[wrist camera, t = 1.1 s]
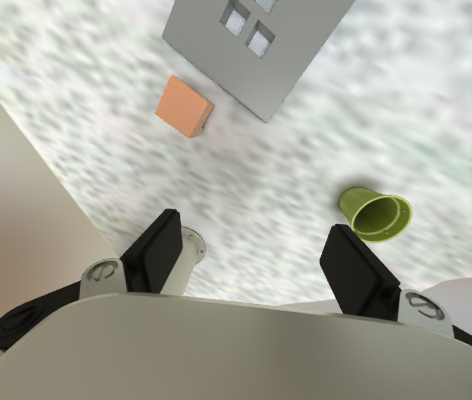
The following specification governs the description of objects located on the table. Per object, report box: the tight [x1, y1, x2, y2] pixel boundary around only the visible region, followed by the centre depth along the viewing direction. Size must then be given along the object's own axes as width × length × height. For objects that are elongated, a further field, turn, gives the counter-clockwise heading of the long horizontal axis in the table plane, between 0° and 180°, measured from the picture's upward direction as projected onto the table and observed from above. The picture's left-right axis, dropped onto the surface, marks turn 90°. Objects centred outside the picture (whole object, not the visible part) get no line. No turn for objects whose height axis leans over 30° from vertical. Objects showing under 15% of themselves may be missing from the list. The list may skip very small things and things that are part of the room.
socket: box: [162, 0, 355, 123], centre depth 25 cm, size 20×20×3 cm
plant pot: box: [339, 187, 412, 243], centre depth 33 cm, size 9×9×9 cm
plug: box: [155, 75, 214, 138], centre depth 28 cm, size 6×6×7 cm
